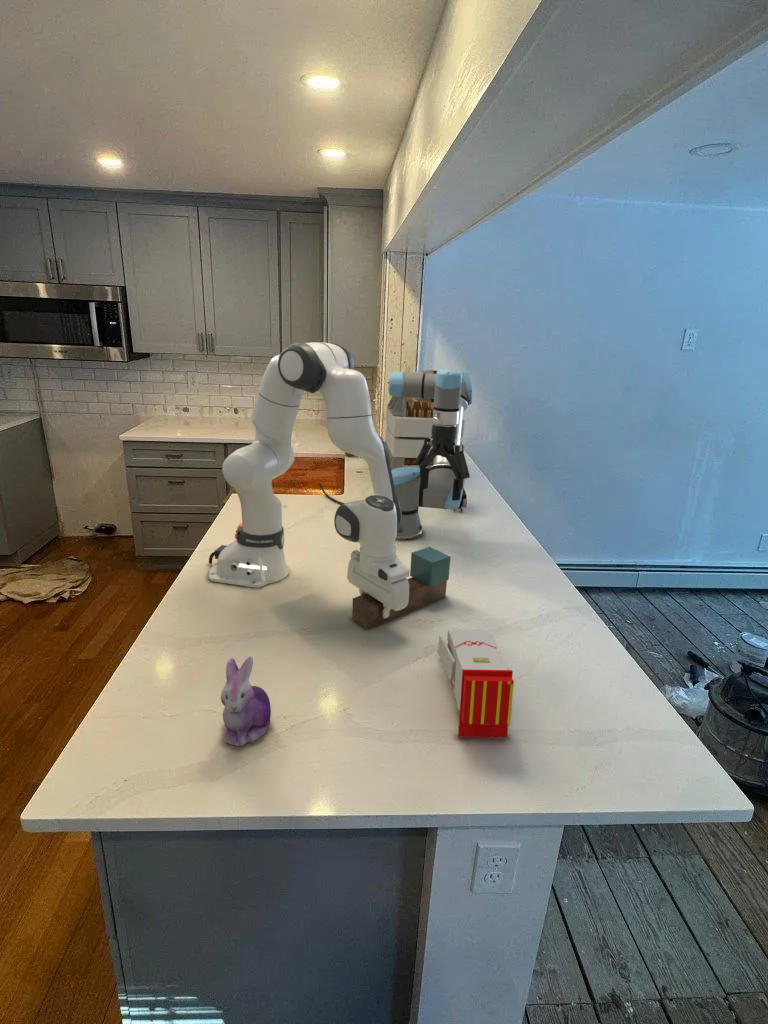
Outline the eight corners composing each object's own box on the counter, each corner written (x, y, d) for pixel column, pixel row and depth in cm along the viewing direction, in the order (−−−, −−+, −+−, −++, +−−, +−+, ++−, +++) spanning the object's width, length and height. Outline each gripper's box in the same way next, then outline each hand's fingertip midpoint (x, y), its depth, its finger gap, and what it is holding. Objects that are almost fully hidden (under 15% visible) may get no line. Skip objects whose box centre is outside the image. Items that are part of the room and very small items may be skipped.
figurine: (228, 756, 99) (223, 684, 94) (215, 719, 107) (210, 651, 102) (280, 740, 103) (279, 670, 98) (264, 706, 111) (262, 640, 106)
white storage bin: (382, 463, 289) (386, 382, 275) (445, 464, 293) (451, 384, 279) (390, 482, 257) (394, 392, 243) (460, 483, 261) (468, 394, 247)
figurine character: (467, 516, 223) (461, 500, 237) (469, 499, 220) (463, 483, 233) (450, 516, 223) (446, 499, 236) (452, 498, 220) (447, 483, 233)
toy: (488, 613, 130) (523, 677, 101) (484, 667, 133) (517, 744, 104) (435, 612, 130) (455, 676, 101) (432, 666, 133) (451, 743, 103)
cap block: (430, 586, 150) (432, 562, 147) (409, 575, 155) (411, 552, 153) (448, 579, 154) (450, 556, 152) (428, 569, 160) (429, 546, 157)
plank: (366, 629, 140) (367, 607, 138) (352, 619, 144) (352, 598, 142) (445, 597, 157) (447, 578, 155) (430, 589, 161) (431, 570, 159)
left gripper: (341, 550, 145) (341, 598, 150) (394, 579, 131) (392, 631, 135) (361, 544, 149) (359, 591, 154) (414, 572, 135) (411, 623, 139)
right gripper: (406, 419, 172) (402, 486, 179) (468, 433, 154) (461, 507, 161) (424, 417, 177) (419, 482, 184) (486, 430, 159) (479, 502, 166)
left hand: (375, 610), depth 144 cm, fingers closed on plank, 6 cm apart
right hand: (439, 494), depth 173 cm, fingers open, 13 cm apart
